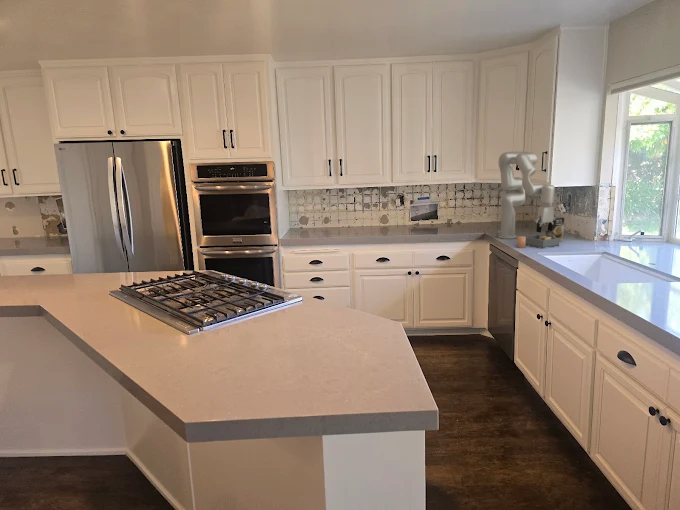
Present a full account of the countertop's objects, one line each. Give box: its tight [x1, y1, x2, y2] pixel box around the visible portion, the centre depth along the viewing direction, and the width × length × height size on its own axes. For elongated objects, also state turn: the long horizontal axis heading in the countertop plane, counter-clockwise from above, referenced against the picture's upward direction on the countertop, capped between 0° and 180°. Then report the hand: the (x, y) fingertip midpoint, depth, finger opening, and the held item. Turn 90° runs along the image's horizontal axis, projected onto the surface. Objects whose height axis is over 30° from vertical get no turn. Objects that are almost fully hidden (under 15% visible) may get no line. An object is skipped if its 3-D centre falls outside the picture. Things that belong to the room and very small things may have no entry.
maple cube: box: [539, 235, 551, 240], centre depth 289 cm, size 5×5×5 cm
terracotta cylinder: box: [516, 235, 527, 249], centre depth 287 cm, size 5×5×7 cm
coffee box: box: [545, 216, 565, 243], centre depth 302 cm, size 9×6×16 cm
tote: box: [525, 234, 560, 249], centre depth 293 cm, size 18×14×5 cm
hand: (544, 231), depth 289 cm, fingers open, 9 cm apart
